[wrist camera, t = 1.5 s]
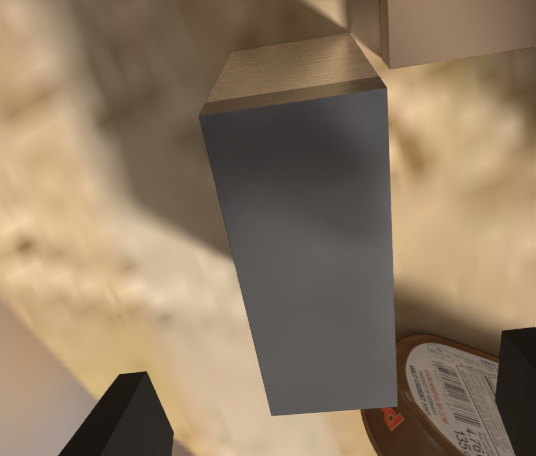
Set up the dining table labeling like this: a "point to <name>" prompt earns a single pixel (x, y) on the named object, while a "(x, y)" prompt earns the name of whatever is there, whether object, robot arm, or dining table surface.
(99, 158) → the dining table surface
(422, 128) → the dining table surface
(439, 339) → the tin
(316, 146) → the block
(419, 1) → the stand
